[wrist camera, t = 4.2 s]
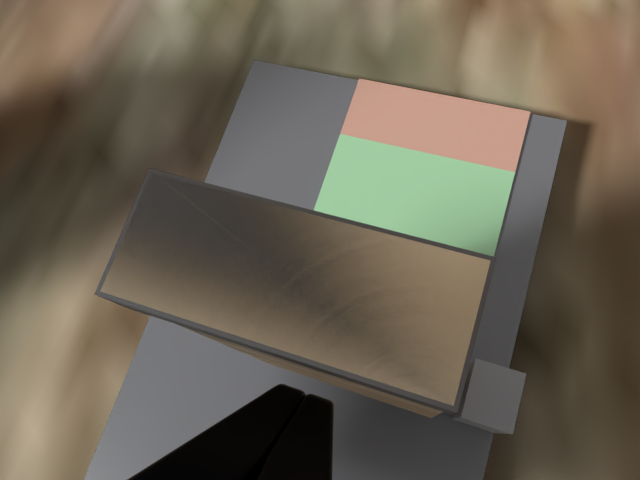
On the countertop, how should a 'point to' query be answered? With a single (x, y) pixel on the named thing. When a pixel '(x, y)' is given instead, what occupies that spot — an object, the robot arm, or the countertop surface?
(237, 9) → the countertop surface
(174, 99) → the countertop surface
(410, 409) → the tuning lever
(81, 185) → the countertop surface
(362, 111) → the base
